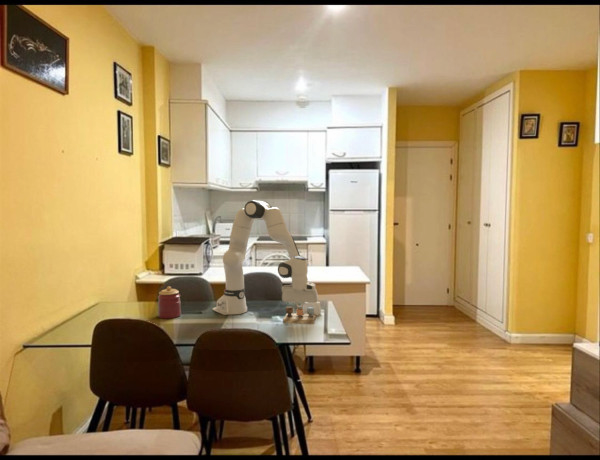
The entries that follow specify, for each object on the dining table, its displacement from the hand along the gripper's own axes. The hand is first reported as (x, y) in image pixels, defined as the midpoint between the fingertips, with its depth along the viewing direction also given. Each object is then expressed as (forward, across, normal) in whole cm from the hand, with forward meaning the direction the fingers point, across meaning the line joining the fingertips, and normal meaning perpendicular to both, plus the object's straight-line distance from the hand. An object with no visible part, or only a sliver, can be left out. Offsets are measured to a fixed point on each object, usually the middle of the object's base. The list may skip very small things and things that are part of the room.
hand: (300, 309), depth 223 cm
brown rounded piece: (+4, -6, 0) cm, 7 cm away
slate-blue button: (+4, +6, 0) cm, 7 cm away
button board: (+6, 0, 0) cm, 6 cm away
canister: (+6, -78, -2) cm, 78 cm away
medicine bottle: (+6, +5, +12) cm, 15 cm away
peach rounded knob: (+5, 0, 0) cm, 5 cm away
